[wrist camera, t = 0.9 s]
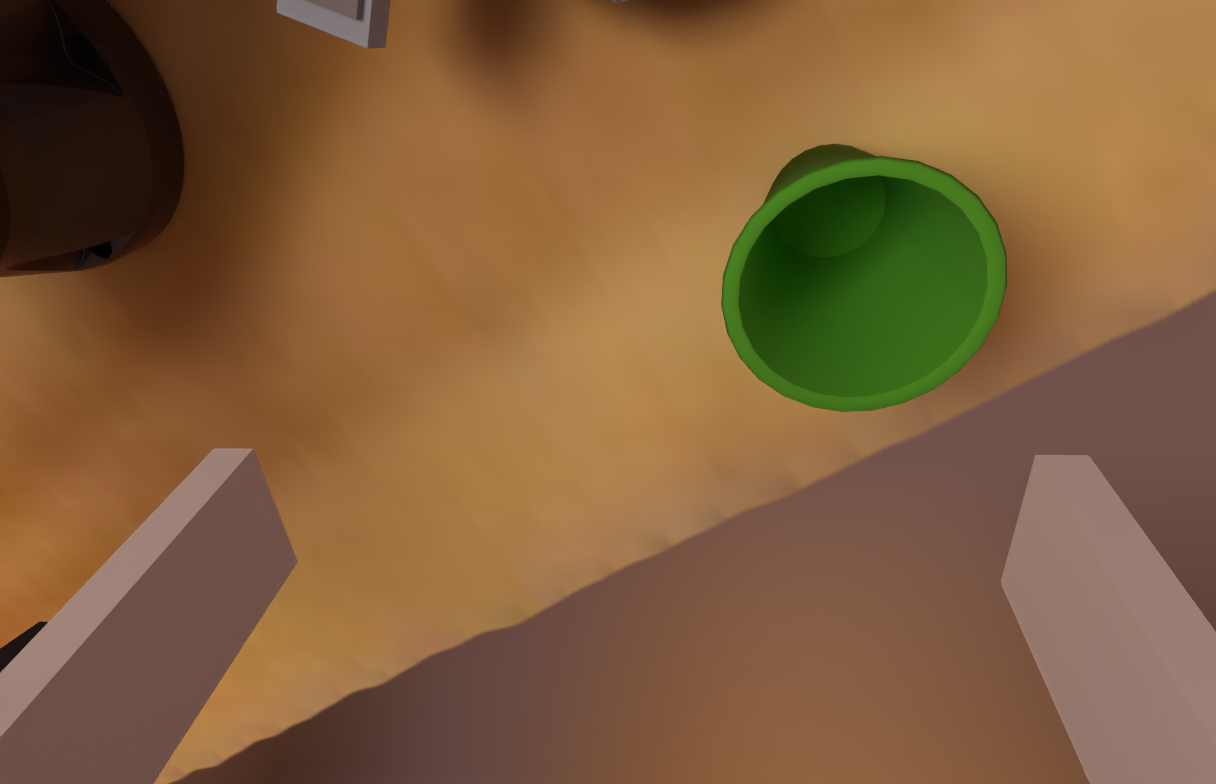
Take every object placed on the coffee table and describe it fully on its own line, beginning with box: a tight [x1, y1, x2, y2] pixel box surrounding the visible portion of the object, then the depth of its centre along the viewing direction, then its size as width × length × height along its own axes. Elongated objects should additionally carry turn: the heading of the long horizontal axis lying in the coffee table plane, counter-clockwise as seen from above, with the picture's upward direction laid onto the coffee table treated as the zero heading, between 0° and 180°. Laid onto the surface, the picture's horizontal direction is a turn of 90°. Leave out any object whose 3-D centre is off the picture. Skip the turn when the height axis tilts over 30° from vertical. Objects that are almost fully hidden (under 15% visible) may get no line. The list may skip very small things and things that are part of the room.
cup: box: [721, 144, 1007, 412], centre depth 29 cm, size 9×9×11 cm
